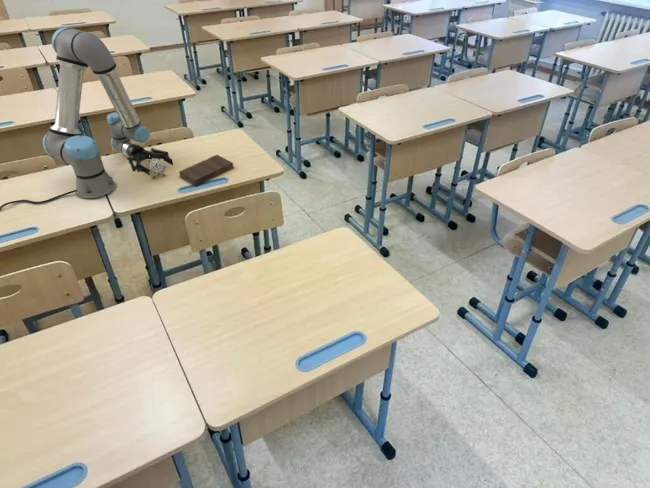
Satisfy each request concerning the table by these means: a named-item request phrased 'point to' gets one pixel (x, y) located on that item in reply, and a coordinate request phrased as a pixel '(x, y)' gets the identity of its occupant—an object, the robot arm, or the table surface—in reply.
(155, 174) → the grey spiked polyhedron
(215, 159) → the walnut board
